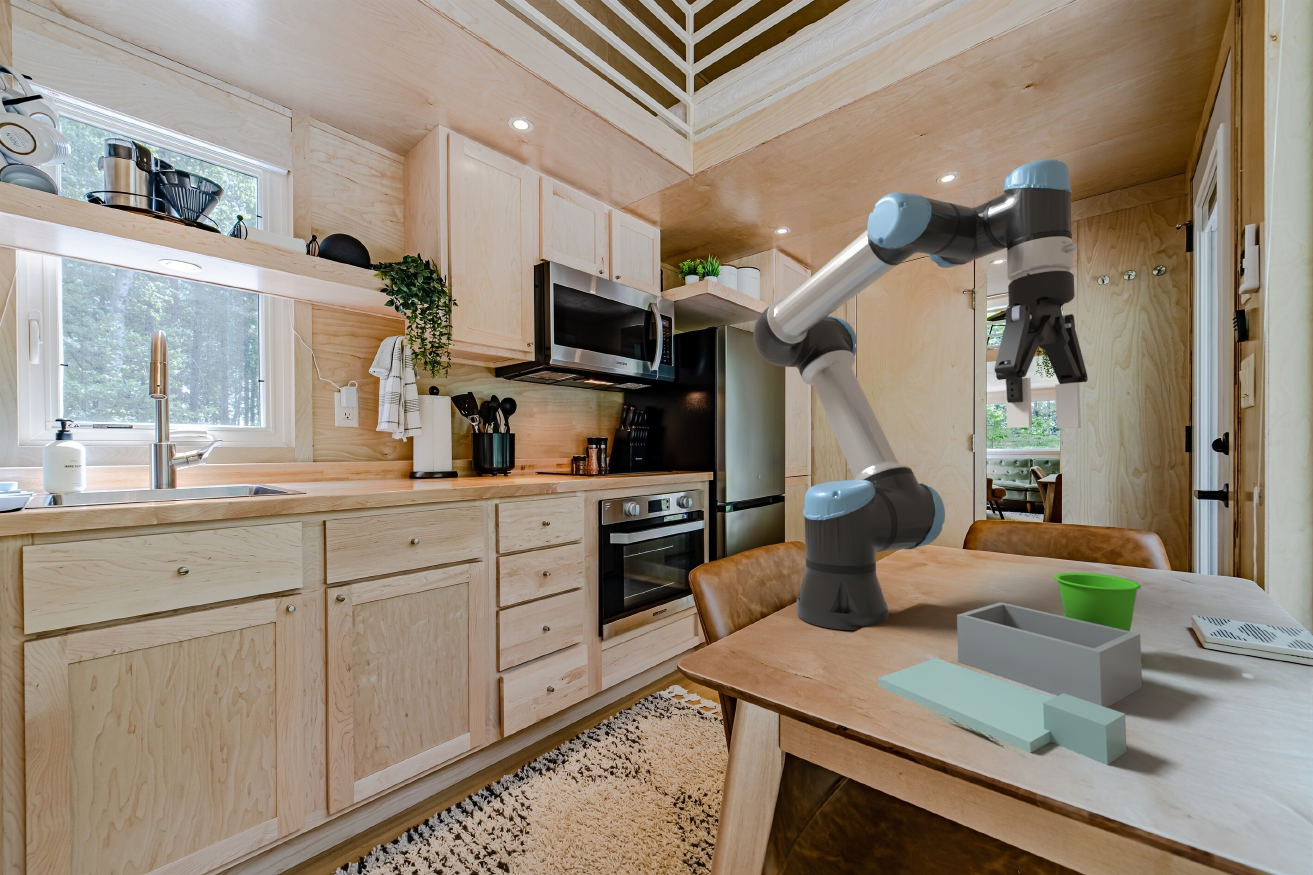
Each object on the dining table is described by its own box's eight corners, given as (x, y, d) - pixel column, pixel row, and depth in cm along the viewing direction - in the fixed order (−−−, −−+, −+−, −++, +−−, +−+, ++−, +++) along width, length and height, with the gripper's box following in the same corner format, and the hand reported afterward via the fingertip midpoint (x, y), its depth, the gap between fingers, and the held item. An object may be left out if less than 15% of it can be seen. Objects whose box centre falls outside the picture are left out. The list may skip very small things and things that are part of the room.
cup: (1162, 678, 67) (1158, 589, 67) (1079, 673, 69) (1076, 587, 69) (1116, 651, 76) (1113, 573, 76) (1043, 647, 78) (1041, 571, 78)
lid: (878, 694, 64) (877, 657, 64) (936, 673, 70) (935, 638, 70) (1088, 790, 46) (1086, 737, 46) (1143, 750, 52) (1141, 703, 52)
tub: (958, 667, 71) (956, 614, 71) (1001, 651, 76) (1000, 602, 77) (1101, 717, 58) (1099, 652, 58) (1142, 693, 63) (1140, 633, 63)
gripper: (1022, 253, 66) (1028, 426, 65) (1112, 282, 78) (1117, 427, 78) (961, 271, 72) (966, 428, 72) (1053, 295, 85) (1058, 429, 84)
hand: (1045, 428), depth 75 cm, fingers open, 13 cm apart
